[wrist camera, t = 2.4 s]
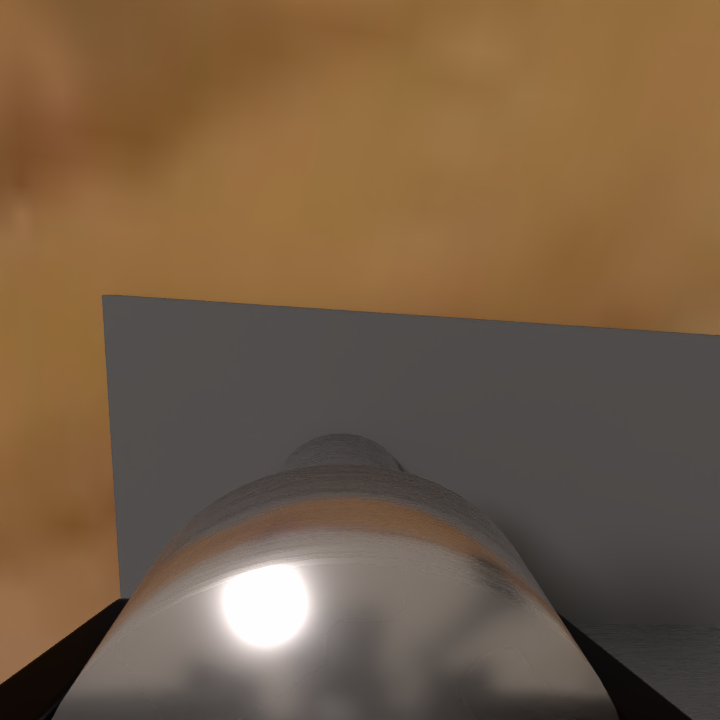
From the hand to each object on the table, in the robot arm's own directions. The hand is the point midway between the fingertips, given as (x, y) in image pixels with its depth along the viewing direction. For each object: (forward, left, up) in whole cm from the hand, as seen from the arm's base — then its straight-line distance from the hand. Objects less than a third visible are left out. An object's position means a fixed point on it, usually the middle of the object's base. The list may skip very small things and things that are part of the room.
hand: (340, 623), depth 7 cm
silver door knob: (0, 0, -4) cm, 4 cm away
